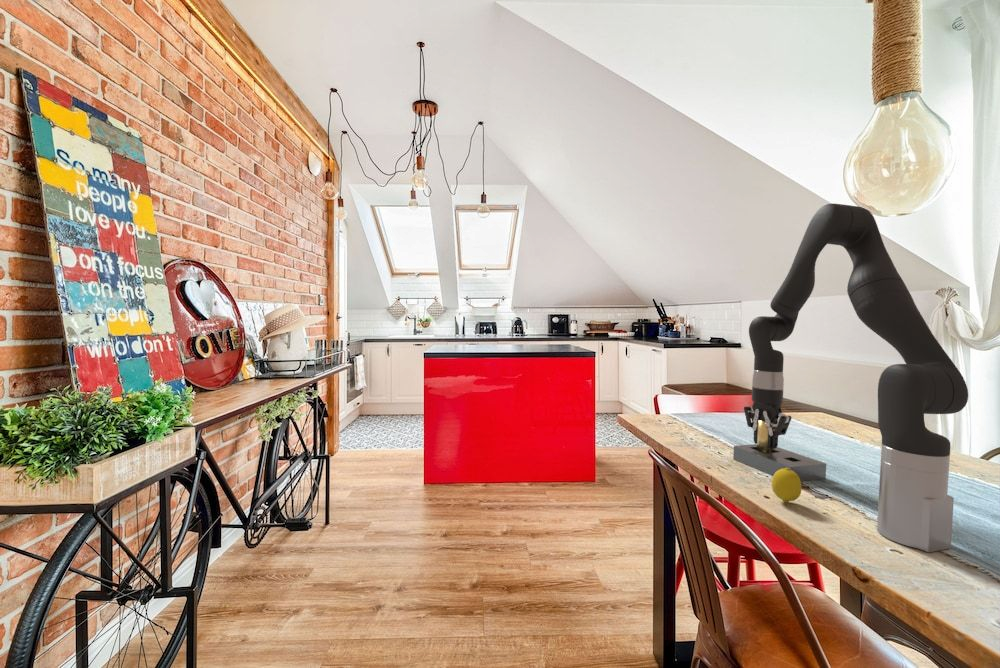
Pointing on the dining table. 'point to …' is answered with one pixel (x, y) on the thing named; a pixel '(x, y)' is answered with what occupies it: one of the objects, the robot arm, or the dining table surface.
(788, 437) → the dining table surface
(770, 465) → the plate
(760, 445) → the gold metal block
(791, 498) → the lemon
